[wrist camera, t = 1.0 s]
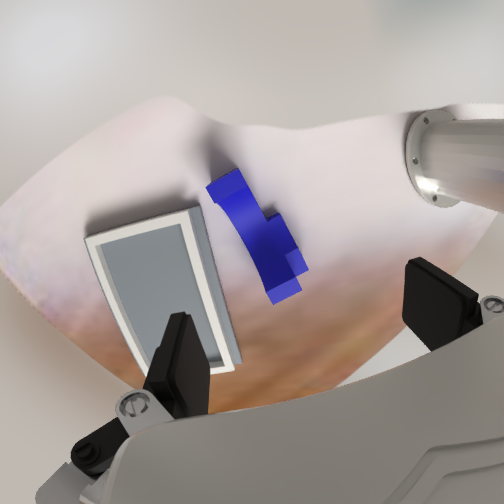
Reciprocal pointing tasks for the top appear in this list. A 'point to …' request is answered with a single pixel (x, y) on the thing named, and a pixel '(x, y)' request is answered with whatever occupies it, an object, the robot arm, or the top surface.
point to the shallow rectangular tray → (164, 284)
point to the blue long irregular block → (261, 236)
